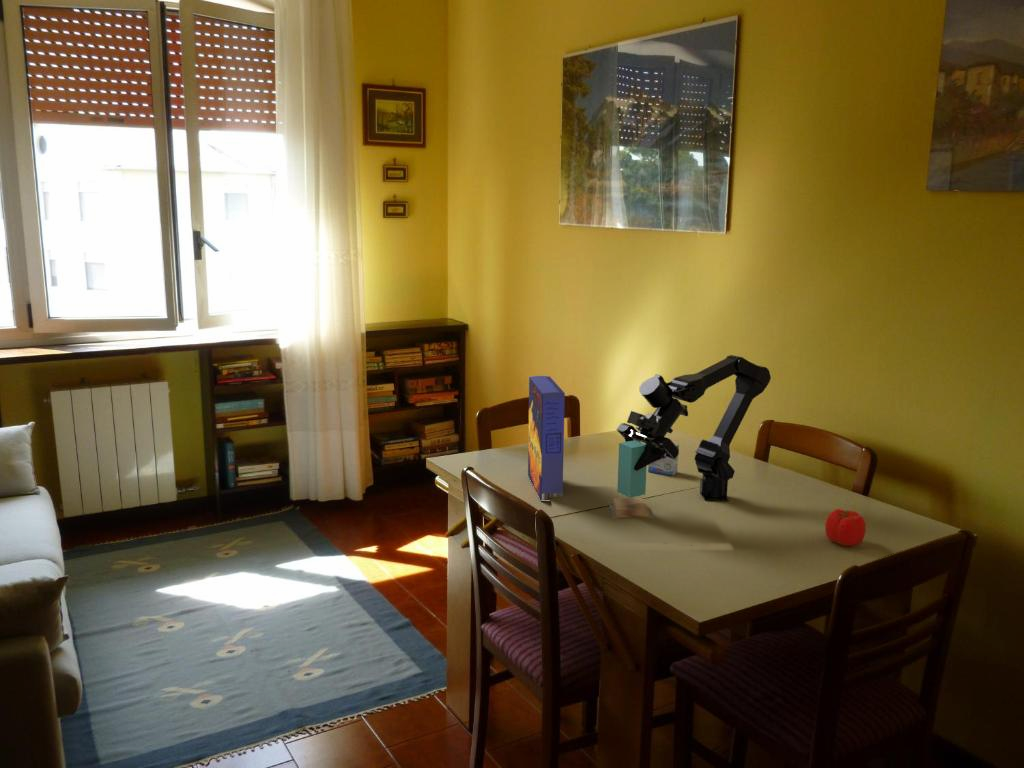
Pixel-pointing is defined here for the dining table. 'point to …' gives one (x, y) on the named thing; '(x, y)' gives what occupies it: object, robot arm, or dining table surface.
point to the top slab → (630, 507)
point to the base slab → (627, 517)
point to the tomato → (845, 527)
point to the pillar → (631, 469)
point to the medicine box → (664, 466)
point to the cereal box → (546, 437)
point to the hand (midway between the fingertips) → (628, 466)
